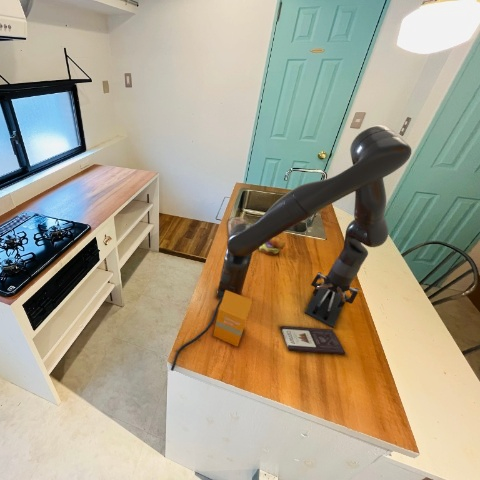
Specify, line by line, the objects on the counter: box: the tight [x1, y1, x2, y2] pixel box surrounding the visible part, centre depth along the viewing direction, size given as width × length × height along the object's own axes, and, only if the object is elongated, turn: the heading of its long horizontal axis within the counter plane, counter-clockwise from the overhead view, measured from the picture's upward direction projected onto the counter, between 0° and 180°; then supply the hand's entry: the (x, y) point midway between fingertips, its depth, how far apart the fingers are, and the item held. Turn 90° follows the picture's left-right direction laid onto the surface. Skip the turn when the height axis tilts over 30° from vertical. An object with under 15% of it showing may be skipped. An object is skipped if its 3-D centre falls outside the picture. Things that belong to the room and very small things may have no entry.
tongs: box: [312, 288, 336, 320], centre depth 100 cm, size 16×5×3 cm, turn 138°
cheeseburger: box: [258, 235, 286, 256], centre depth 129 cm, size 10×11×10 cm
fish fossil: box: [227, 216, 248, 236], centre depth 146 cm, size 26×10×1 cm, turn 168°
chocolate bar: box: [280, 325, 346, 355], centre depth 88 cm, size 9×1×18 cm
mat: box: [304, 288, 343, 329], centre depth 102 cm, size 21×10×1 cm, turn 138°
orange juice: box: [212, 290, 253, 347], centre depth 85 cm, size 8×9×20 cm
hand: (326, 300), depth 101 cm, fingers open, 8 cm apart
